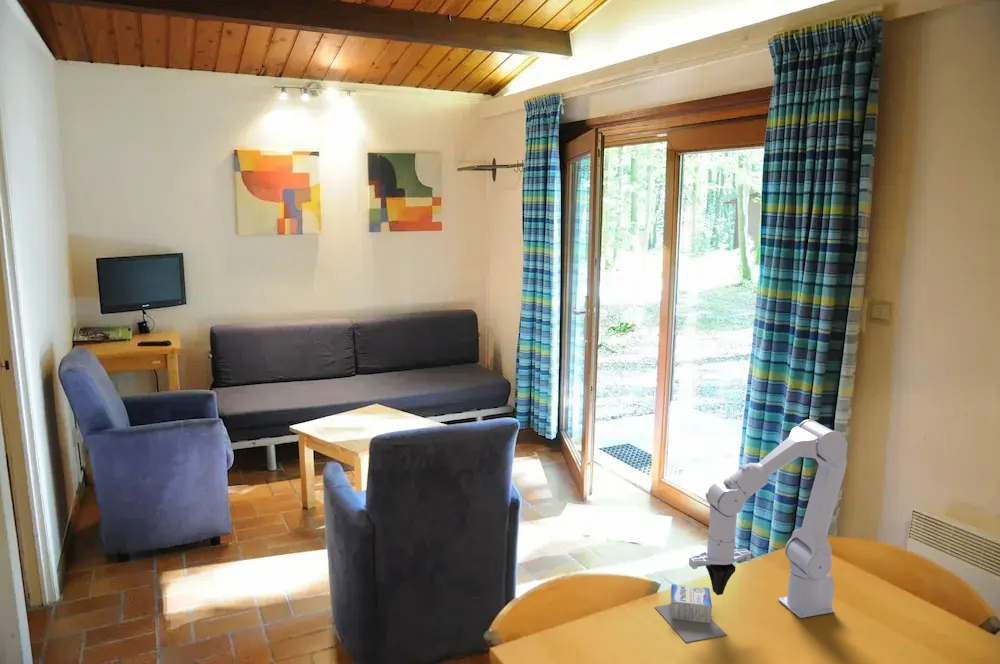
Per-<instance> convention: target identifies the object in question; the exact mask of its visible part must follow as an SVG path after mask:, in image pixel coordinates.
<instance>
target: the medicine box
mask: <svg viewBox="0 0 1000 664" xmlns="http://www.w3.org/2000/svg"><path fill="white" fill-rule="evenodd" d="M710 590H711V589H710V588H709V587H701V586H694V585H685V584H678V583H677V584H675V583H672V584H671V587H670V604H671V613H672V619H678V620H686V621H695V622H703V623H710V621H711V619H712V611H713V609H712V608H713V603H712V598H711V591H710Z"/></svg>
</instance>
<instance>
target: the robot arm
mask: <svg viewBox="0 0 1000 664" xmlns="http://www.w3.org/2000/svg"><path fill="white" fill-rule="evenodd" d="M848 445H849V444H848V442H847V440H846V439H845V437H844V436H843V435H842V434H841V433H840V432H838V431H836V430H832V429H831V428H829V427H827V426H824V425H822V424H821V423H819V422H817V421H816V420H814V419H805V420H802V421H801V422H800V423H799V424H798V425H797V426H795V427H793V428H792V429H791V431H790V433H789V435H788V437H787V438H786V439H785V440H784V441H782V442H781V443H780V444H779V445H777V446H776V447H775V448H774V449H772V451H770V452H769V453H768V454H767V455H765V456H764V458H762V459H761V460H760V461H759V462H748V463H744V464H743V465H741V466H740V469H739V470H737V471H736V472H735V473H734V474H732V475H730V476H729V477H727V478H726V479H724V481H720V482H719V481H718V482H715V483H713V484H712V485H711V486H710V487H709V489H708V491H707V492H706V493H705V499H706V502H708V504H709V521H708V534H707V535H708V536H707V537H708V538H707V549H706V550H705V551H703V552H701V553H698V554H696V555H693V556H690V557H688V565H689V567H691V568H692V569H693V570H696V569H698V568H699V567H704V566H705V568H706V570H707V572H708V575H709V578H710V583H711V587H712V592H713V593H714V594H716V595H717V596H722V595H723V594H724V591H725V589H726V587H727V584H728V582H729V581H730V578H731V577H732V575H733V574H734V573H735V572H736V568H737V567H736V566H735V565H734V563H735V562H739V561H745V562H750V561H751V559H752V558H751V557H752V552H751V551H750V550H748V549H746V548H741V549H739V548H735V546H736V545H735V544H736V532H737V531H736V530H737V519H738V518H737V516H738V515H737V514H739V513H740V512H741V511H742V509H743V507H744V504H745V503H746V502H747V500H748V499H749V498H750V497H751V496H753V495H754V494H755V493H757V492H759V490H761V489H762V488H763V487H765V486H766V485H768V480H769V476H770V475H772V474H773V473H775V472H777V471H778V470H780V469H781V468H783V467H785V466H786V465H788V464H789V463H791V462H793V461H795V460H796V459H798V458H808V459H814V460H816V462H817V464H818V467H817V469H816V470H817V471H816V474H815V477H814V481H813V484H812V488H811V491H810V495H809V498H808V503H807V507H806V510H805V514H804V517H803V521H802V524H801V527H800V528H797V529H794V530H793V531H792V534H791V537H790V538H789V539H788V541H787V543H785V547H784V554H785V556H786V558H787V559H788V560H789V561H788V565H789V574H788V584H787V595H786V596H784V597H783V596H782V597H779V598H778V602H780V603H781V604H782V605H784V606H785V607H786V608H787V609H788V610H789V611H791V612H792V613H793V614H795V615H796V616H797V618H800V619H802V618H807V617H808V618H809V617H813V616H819V615H825V614H833V613H835V609H834V607H833V601H834V599H833V598H834V591H835V582H834V579H833V576H832V574H831V570H832V566H833V565H832V564H833V563H832V553H833V548H832V546H831V544H830V542H829V539H828V533H829V529H830V526H831V522H832V519H833V516H834V512H835V509H836V504H837V501H838V497H839V494H840V490H841V486H842V483H843V480H844V478H845V477H844V476H845V472H846V468H847V464H848V461H847V460H848V459H847V453H846V451H847V448H848Z"/></svg>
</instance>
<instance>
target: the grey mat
mask: <svg viewBox="0 0 1000 664" xmlns="http://www.w3.org/2000/svg"><path fill="white" fill-rule="evenodd" d="M654 608H655V610H656V611H657V612H658V613H659V615H661V617H663V619H664V620H665V621H666V622H667V623H668V624H669V626H670V627H672V629H673V630H674V632H676V634H677V635H679V636H680V638H681V639H682V640H683V641H684V642H685V644H686V643H693V642H698V641H704V640H710V639H714V638H715V639H716V638H719V637H725V636H728V634H727V633H726V632H725V631H724V630H723V629H722V628H721V627H720V626H719V625H718V624H717V623H716V622H715V620H713V618H711V621H710V623H703V622H695V621H686V620H678V619H672V613H671V603H670V604H669V603H668V604H665V605H664V604H663V605H658V606H654Z"/></svg>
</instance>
